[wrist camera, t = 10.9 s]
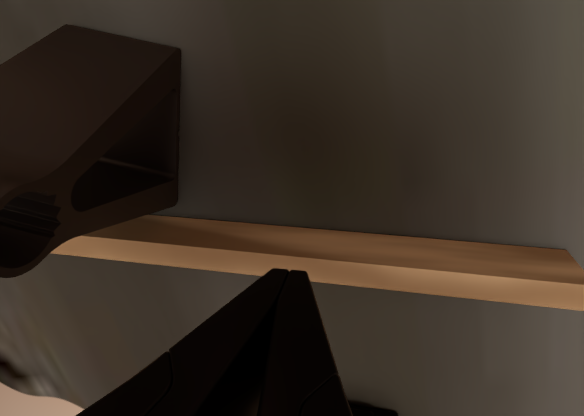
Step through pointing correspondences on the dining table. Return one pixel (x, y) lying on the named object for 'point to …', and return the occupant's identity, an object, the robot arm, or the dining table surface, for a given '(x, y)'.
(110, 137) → the phone stand
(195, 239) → the reddish flat wooden frame
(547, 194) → the dining table surface
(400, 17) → the dining table surface
